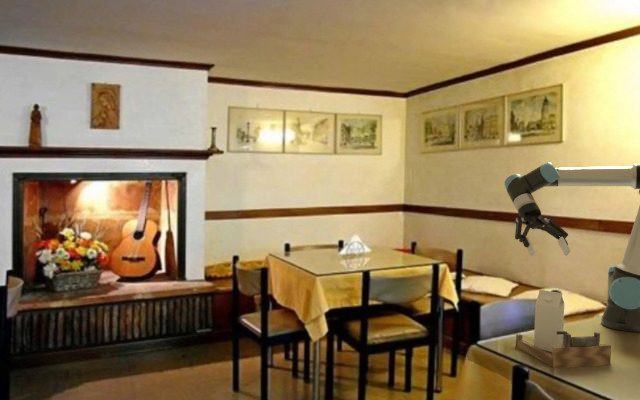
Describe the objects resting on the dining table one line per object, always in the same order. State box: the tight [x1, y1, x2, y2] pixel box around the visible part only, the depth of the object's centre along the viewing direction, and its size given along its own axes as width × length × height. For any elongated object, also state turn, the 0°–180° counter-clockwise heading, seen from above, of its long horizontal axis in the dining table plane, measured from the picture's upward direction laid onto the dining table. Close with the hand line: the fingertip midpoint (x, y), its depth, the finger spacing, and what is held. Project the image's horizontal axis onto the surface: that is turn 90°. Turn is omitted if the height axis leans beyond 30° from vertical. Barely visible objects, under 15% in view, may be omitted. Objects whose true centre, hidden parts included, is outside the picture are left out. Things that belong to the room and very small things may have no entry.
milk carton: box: [533, 289, 565, 353], centre depth 168 cm, size 7×7×19 cm
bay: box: [515, 330, 612, 369], centre depth 162 cm, size 19×21×11 cm
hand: (550, 253), depth 180 cm, fingers open, 13 cm apart
